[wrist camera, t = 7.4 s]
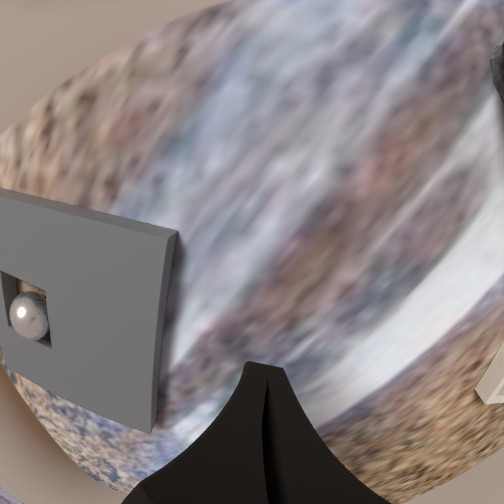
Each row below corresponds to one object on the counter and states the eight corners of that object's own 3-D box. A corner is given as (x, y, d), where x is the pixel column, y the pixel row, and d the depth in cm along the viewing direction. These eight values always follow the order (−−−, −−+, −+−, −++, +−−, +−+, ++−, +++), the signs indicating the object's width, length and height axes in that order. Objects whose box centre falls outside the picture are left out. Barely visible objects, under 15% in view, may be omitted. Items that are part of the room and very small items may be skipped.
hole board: (156, 418, 24) (150, 434, 22) (16, 356, 24) (6, 366, 22) (177, 230, 19) (167, 239, 17) (-1, 187, 18) (-17, 191, 16)
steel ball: (21, 355, 17) (4, 322, 19) (59, 342, 21) (39, 313, 22) (20, 319, 16) (3, 285, 17) (63, 307, 20) (42, 277, 21)
